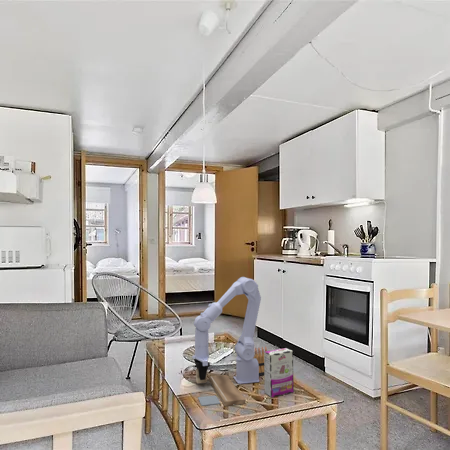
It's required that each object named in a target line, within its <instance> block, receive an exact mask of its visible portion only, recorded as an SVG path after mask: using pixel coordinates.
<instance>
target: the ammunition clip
mask: <svg viewBox="0 0 450 450" xmlns="http://www.w3.org/2000/svg"><path fill="white" fill-rule="evenodd" d="M266 351H268V349H267V346H264V347H263V346H261V348H260V347H258V349H257V347H254V352H255V355H254V358H256V359H257V361H258V364H259V377H260V376H264V352H266Z"/></svg>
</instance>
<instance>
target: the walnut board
mask: <svg viewBox="0 0 450 450" xmlns="http://www.w3.org/2000/svg"><path fill="white" fill-rule="evenodd" d="M208 382H209V384H210V385H211V387H212V388H213V390H214V392H215V393H216V396H218V399H220V400H219V401H220V402H221V403H222V404H223V406H224V407H230V406H234V405H233V404H236V405H235V406H238V405H239V404H241V405H246V404H247V402H246V398H245V397H244V396H243V394H242V393H241V391H240V390H239V389H238V388H237V387H236V385H235V384H234V382H233V381H232V380H231V378H230V377H229V376H228V375H227V374H222V375H221V374H220V375H219V374H218V375H211V376H208Z"/></svg>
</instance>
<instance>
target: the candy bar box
mask: <svg viewBox="0 0 450 450" xmlns="http://www.w3.org/2000/svg"><path fill="white" fill-rule="evenodd" d="M263 376H264V394H265V395H267V396H269V397H270V398H275V397H276V398H277V397H279V396H283V395H286V394H291V393H294V392H295V390H294V388H295V387H294V386H295V385H294V351H293V350H292V349H290V348H287V347H285V348H279V349H273V350H267V351H266V352H265V351H264V375H263Z"/></svg>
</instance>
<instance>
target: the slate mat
mask: <svg viewBox="0 0 450 450" xmlns="http://www.w3.org/2000/svg"><path fill="white" fill-rule="evenodd" d="M197 399H198V401H199V403H200V406H201V407H205V406H206V407H207V406H214V405H220V404H221V401H220V400H219V397H217V394H216V395H215V394H214V395H207V396H198V397H197Z"/></svg>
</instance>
